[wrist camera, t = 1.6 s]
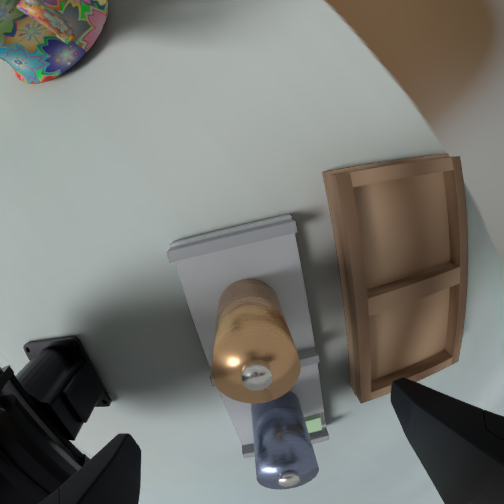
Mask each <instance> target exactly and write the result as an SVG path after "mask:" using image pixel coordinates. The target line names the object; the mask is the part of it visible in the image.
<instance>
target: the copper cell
mask: <svg viewBox="0 0 504 504" xmlns="http://www.w3.org/2000/svg"><path fill="white" fill-rule="evenodd" d="M300 368H301V365H300V359H299V356H298V353H297V350H296V347H295V345H294V342H293V339H292V336H291V333H290V330H289V328H288V325H287V322H286V319H285V316H284V314H283V311H282V308H281V305H280V302H279V300H278V297H277V295H276V293H275V291H274V290H273V289H272V287H270V286H269V285H268V284H267V283H265V282H263V281H260V280H257V279H241V280H238V281H236V282H234V283H232V284H230V285H229V286H228V287H227V288H226V289H225V290H224V291H223V293H222V295H221V297H220V300H219V306H218V314H217V322H216V330H215V338H214V347H213V355H212V364H211V375H212V379H213V381H214V383H215V385H216V387H217V388H218V389H219V390H220V391H221V392H222V393H223V394H224V395H226V396H227V397H229V398H231V399H233V400H236V401H239V402H243V403H250V404H257V403H265V402H269V401H272V400H275V399H277V398H279V397H281V396H283V395H284V394H286V393H287V392H288V391H289V390H290V389H291V388H292V387H293V386H294V385H295V383H296V381H297V380H298V377H299V374H300Z"/></svg>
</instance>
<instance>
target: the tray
mask: <svg viewBox="0 0 504 504" xmlns="http://www.w3.org/2000/svg"><path fill="white" fill-rule="evenodd" d="M322 174H323V178H324V183H325V188H326V193H327V199H328V204H329V209H330V215H331V220H332V226H333V232H334V238H335V244H336V251H337V257H338V264H339V271H340V278H341V286H342V294H343V302H344V311H345V320H346V330H347V341H348V353H349V367H350V382H351V388H352V390H353V391H354V393H355V395H357V397H358V399H359V401H360V403H364V402H367V401H369V400H372V399H375V398H378V397H380V396H383V395H386V394H388V393H391V385H392V382H393V381H394V380H396V379H398V378H401V377H405V378H408V379H410V380H412V381H414V382H417V381H419V380H421V379H423V378H426V377H428V376H430V375H432V374H434V373H436V372H438V371H440V370H442V369H444V368H446V367H448V366H450V365H452V364H454V363H456V362H458V360H459V355H460V349H461V342H462V335H463V327H464V319H465V308H466V296H467V277H468V233H467V213H466V201H465V191H464V182H463V174H462V168H461V161H460V157H459V156H458V157H449V155H448V154H438V155H430V156H421V157H414V158H406V159H399V160H392V161H385V162H379V163H372V164H366V165H360V166H354V167H348V168H342V169H336V170H331V171H326V172H322Z"/></svg>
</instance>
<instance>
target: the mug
mask: <svg viewBox="0 0 504 504" xmlns="http://www.w3.org/2000/svg"><path fill="white" fill-rule="evenodd" d="M107 14H108V1H107V0H0V58H1V59H3V60H5V61H6V62H7V63H8V64H9V65H10V66H11V67H12V69H13V71H14V73H15V75H16V76H17V77H18V78H19V79H20V80H21V81H23V82H25V83H29V84H38V83H43V82H46V81H49V80H51V79H54V78H55V77H57V76H59V75H61V74H62V73H64V72H65V71H67V70H68V69H69V68H71V67H72V66H73V65H74V64H75V63H77V62H78V61H79V60H80V59H81V58H82V57H83V56H84V55H85V54H86V52H87V51H88V50H89V49H90V48H91V46H92V45H93V44H94V42H95V41H96V39H97V38H98V36H99V34H100V33H101V31H102V28H103V26H104V24H105V21H106V18H107Z"/></svg>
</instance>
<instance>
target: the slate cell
mask: <svg viewBox="0 0 504 504" xmlns="http://www.w3.org/2000/svg"><path fill="white" fill-rule="evenodd" d="M251 415H252V428H253V440H254V452H255V463H256V475H257V481H258V482H259V484H261V485H262V486H264V487H267V488H271V489H289V488H294V487H298V486H301V485H303V484H305V483H307V482H309V481H311V480H312V479H313V478H314V477H315V476H316V475H317V474H318V471H319V468H318V464H317V461H316V457H315V454H314V450H313V447H312V443H311V440H310V436H309V433H308V429H307V426H306V422H305V419H304V415H303V412H302V408H301V405H300V401H299V398H298V397H297V395H296V394H294V393H293V392H291V391H288V392H287V393H286V394H284V395H283V396H281V397H279V398H277V399H275V400H272V401H269V402H265V403H257V404H251Z"/></svg>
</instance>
